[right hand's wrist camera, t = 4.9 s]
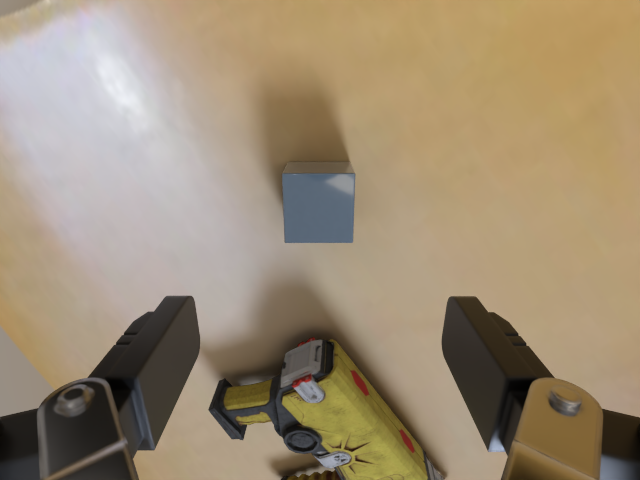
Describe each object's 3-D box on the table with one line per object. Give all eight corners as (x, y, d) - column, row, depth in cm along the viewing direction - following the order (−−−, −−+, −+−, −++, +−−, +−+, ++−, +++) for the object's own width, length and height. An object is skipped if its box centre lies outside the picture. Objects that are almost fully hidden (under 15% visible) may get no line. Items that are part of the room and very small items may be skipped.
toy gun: (330, 563, 38) (465, 530, 34) (173, 432, 30) (327, 366, 26) (331, 513, 43) (451, 478, 38) (194, 386, 34) (329, 322, 30)
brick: (348, 222, 28) (352, 243, 24) (289, 222, 28) (284, 243, 24) (350, 161, 26) (355, 173, 22) (287, 161, 26) (281, 173, 22)
